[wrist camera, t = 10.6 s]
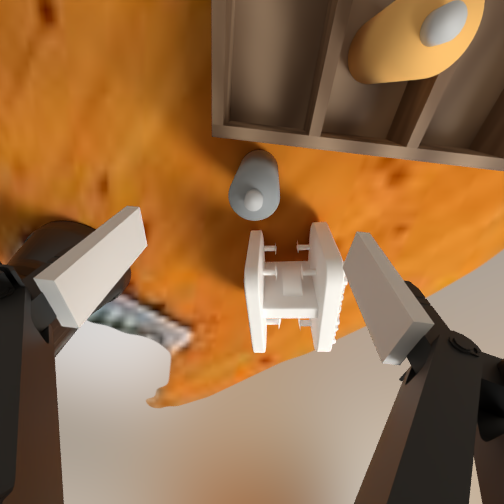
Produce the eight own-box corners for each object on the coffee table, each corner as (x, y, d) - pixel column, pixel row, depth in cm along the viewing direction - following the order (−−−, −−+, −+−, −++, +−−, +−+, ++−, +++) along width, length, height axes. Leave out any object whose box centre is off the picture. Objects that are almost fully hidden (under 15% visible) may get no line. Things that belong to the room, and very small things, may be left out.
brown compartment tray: (222, 128, 26) (212, 136, 21) (226, -36, 19) (211, -79, 14) (464, 157, 26) (507, 171, 21) (555, 2, 19) (650, -29, 14)
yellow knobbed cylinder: (390, 86, 22) (467, 81, 13) (341, 82, 22) (386, 74, 13) (413, 18, 19) (527, -43, 11) (357, 13, 19) (427, -52, 11)
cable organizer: (249, 218, 32) (239, 271, 22) (328, 214, 31) (353, 269, 21) (257, 296, 40) (252, 359, 31) (319, 295, 39) (334, 360, 29)
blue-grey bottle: (238, 186, 29) (225, 223, 21) (241, 147, 27) (227, 171, 18) (274, 190, 29) (275, 229, 21) (280, 152, 27) (284, 178, 18)
